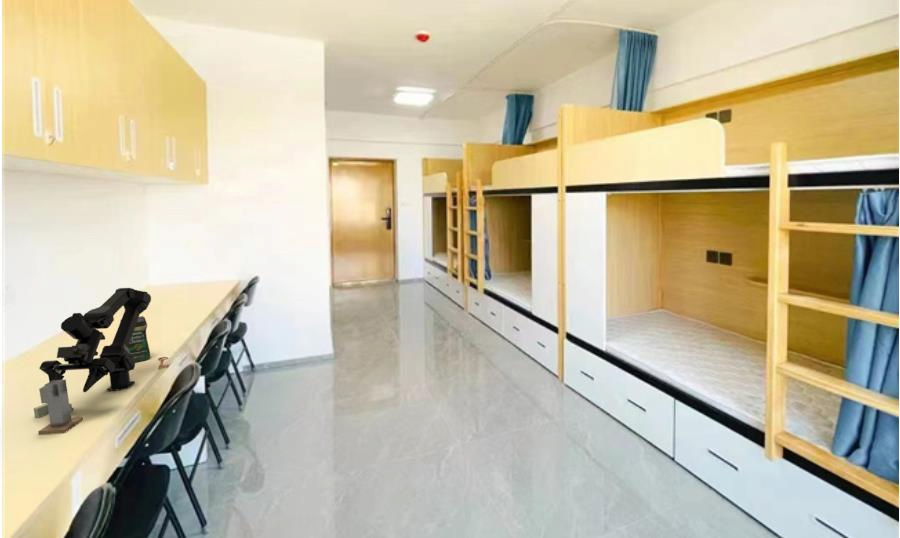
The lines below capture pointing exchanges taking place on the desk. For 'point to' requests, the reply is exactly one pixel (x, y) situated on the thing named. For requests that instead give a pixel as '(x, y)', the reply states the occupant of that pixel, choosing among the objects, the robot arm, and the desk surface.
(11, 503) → the desk surface
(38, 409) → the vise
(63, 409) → the stepped metal bracket
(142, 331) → the coffee jar
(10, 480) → the desk surface
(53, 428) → the walnut board
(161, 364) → the key
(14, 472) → the desk surface
